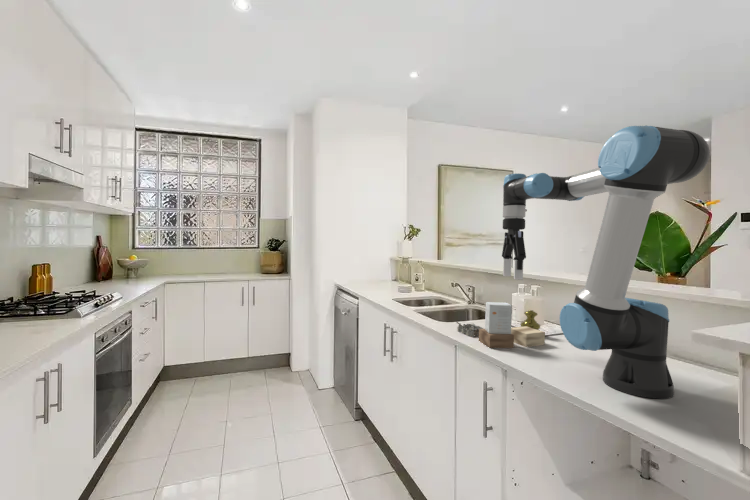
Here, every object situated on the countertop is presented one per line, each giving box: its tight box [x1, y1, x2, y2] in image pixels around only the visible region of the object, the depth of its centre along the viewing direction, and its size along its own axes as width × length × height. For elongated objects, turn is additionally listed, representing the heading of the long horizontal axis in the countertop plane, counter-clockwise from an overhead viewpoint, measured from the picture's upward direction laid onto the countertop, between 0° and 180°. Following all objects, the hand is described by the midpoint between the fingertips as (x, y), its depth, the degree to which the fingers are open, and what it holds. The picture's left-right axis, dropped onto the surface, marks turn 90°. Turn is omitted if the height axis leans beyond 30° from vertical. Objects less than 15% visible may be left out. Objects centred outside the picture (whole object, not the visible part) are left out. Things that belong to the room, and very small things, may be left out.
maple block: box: [511, 326, 546, 348], centre depth 134 cm, size 9×9×5 cm
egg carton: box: [455, 321, 484, 338], centre depth 146 cm, size 11×8×4 cm
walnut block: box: [478, 328, 515, 349], centre depth 131 cm, size 9×9×5 cm
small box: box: [484, 301, 513, 334], centre depth 130 cm, size 8×6×10 cm
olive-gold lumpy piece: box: [520, 309, 541, 330], centre depth 146 cm, size 7×8×10 cm
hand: (512, 277), depth 128 cm, fingers open, 13 cm apart
